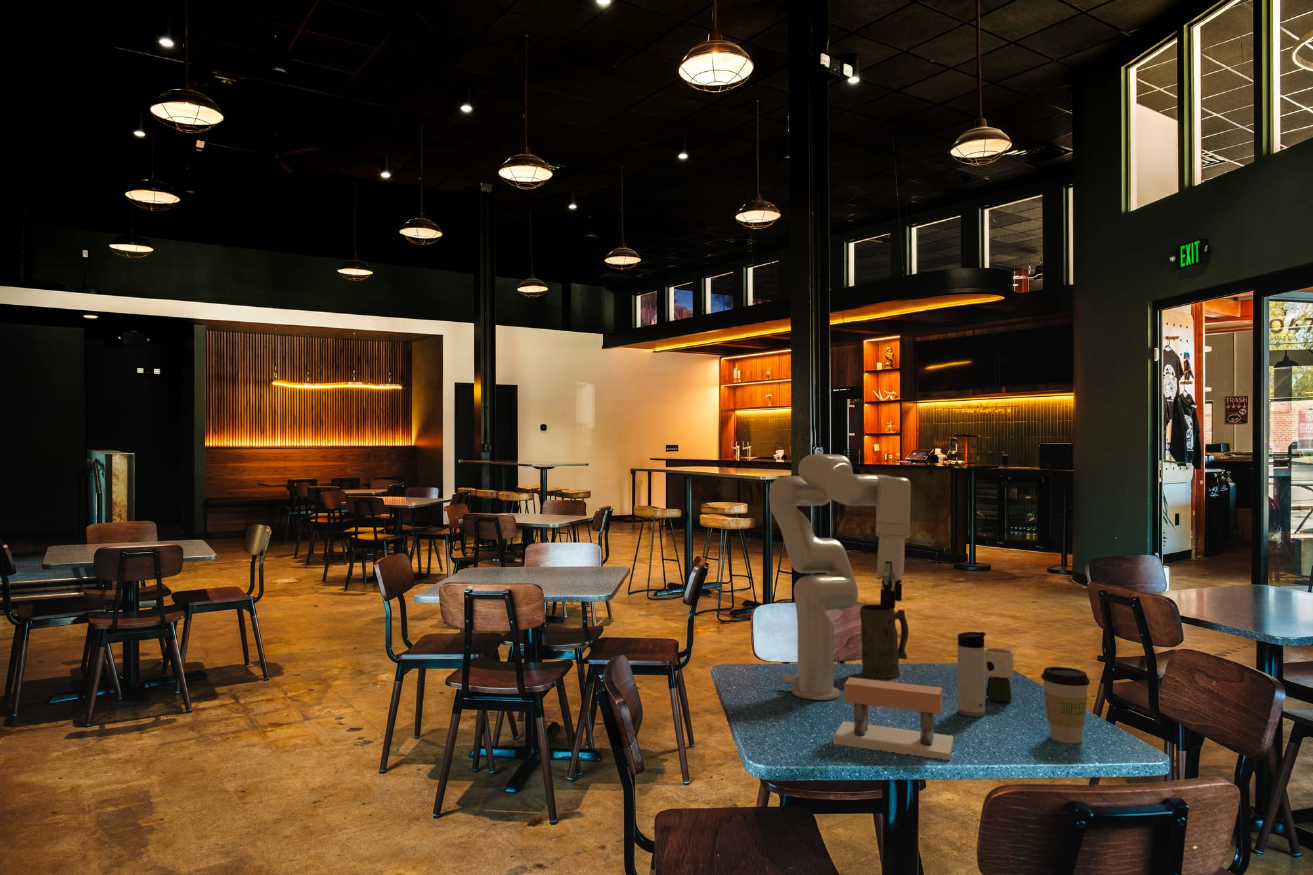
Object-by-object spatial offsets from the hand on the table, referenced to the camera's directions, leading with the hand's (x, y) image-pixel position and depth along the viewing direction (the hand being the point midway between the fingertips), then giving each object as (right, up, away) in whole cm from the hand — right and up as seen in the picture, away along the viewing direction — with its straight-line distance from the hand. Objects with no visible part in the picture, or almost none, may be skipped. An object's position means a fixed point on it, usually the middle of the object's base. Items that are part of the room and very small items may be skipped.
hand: (891, 603), depth 183 cm
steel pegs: (-2, -27, -10) cm, 29 cm away
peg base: (-2, -29, -10) cm, 30 cm away
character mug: (+35, -31, +24) cm, 52 cm away
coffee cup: (+38, -29, -6) cm, 48 cm away
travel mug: (+24, -30, +13) cm, 40 cm away
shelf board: (-2, -20, -9) cm, 22 cm away
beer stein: (+13, -32, +50) cm, 60 cm away
